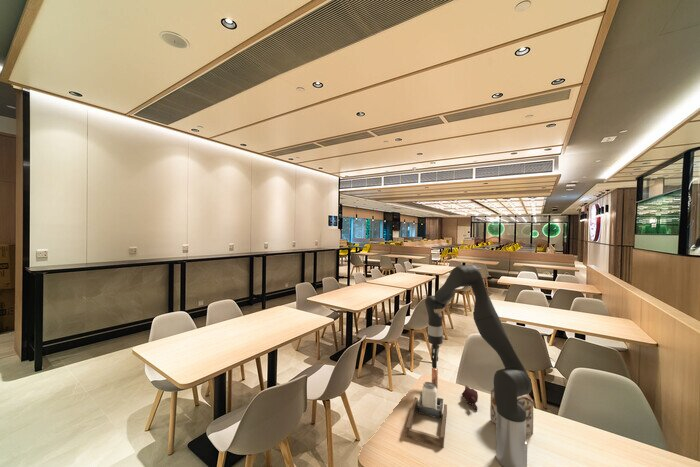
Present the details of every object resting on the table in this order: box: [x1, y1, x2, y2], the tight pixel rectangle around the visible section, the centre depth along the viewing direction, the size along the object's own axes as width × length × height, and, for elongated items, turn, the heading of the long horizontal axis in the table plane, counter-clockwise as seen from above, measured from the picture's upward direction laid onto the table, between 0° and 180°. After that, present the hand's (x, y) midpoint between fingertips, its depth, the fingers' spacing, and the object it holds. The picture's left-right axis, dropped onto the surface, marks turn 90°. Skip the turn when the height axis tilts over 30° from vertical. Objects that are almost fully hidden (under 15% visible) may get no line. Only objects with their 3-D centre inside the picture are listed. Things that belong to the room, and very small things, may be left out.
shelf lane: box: [405, 397, 448, 449], centre depth 118 cm, size 14×22×4 cm, turn 157°
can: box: [421, 381, 438, 410], centre depth 127 cm, size 6×6×12 cm
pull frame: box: [416, 367, 444, 420], centre depth 135 cm, size 10×26×10 cm, turn 157°
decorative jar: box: [489, 387, 534, 436], centre depth 118 cm, size 12×12×18 cm
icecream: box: [461, 385, 479, 412], centre depth 135 cm, size 7×7×15 cm
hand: (435, 364), depth 146 cm, fingers open, 8 cm apart
